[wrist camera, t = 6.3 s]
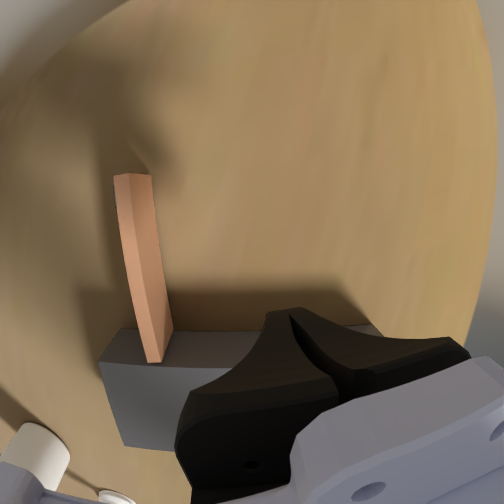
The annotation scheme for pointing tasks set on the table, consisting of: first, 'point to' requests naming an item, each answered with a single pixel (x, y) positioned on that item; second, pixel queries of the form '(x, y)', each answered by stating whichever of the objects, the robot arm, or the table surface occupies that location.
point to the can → (38, 454)
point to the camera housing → (169, 378)
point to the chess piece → (114, 498)
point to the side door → (143, 261)
